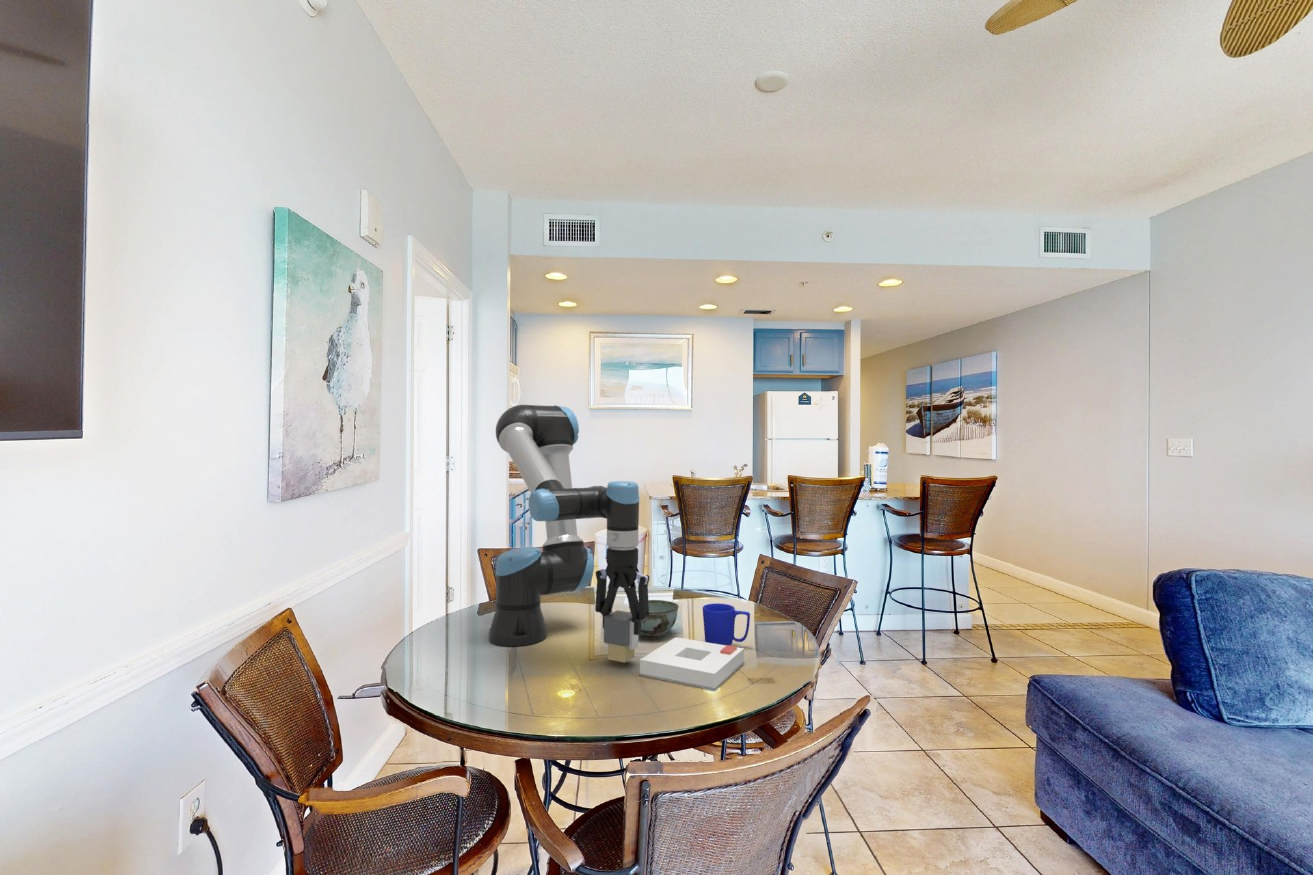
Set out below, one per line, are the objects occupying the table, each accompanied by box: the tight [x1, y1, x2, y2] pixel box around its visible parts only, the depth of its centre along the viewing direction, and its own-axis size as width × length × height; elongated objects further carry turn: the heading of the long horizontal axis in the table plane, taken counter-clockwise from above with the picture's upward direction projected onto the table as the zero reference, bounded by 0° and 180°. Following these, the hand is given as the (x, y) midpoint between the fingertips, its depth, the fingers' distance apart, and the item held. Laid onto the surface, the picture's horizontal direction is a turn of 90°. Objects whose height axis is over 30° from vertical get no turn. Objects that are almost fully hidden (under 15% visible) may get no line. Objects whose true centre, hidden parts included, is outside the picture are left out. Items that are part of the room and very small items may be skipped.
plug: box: [603, 609, 640, 663], centre depth 142 cm, size 6×6×10 cm
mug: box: [702, 602, 751, 646], centre depth 154 cm, size 8×12×10 cm
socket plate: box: [639, 637, 745, 691], centre depth 138 cm, size 18×18×4 cm
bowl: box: [628, 599, 680, 639], centre depth 164 cm, size 14×13×8 cm
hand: (621, 645), depth 142 cm, fingers closed on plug, 6 cm apart
